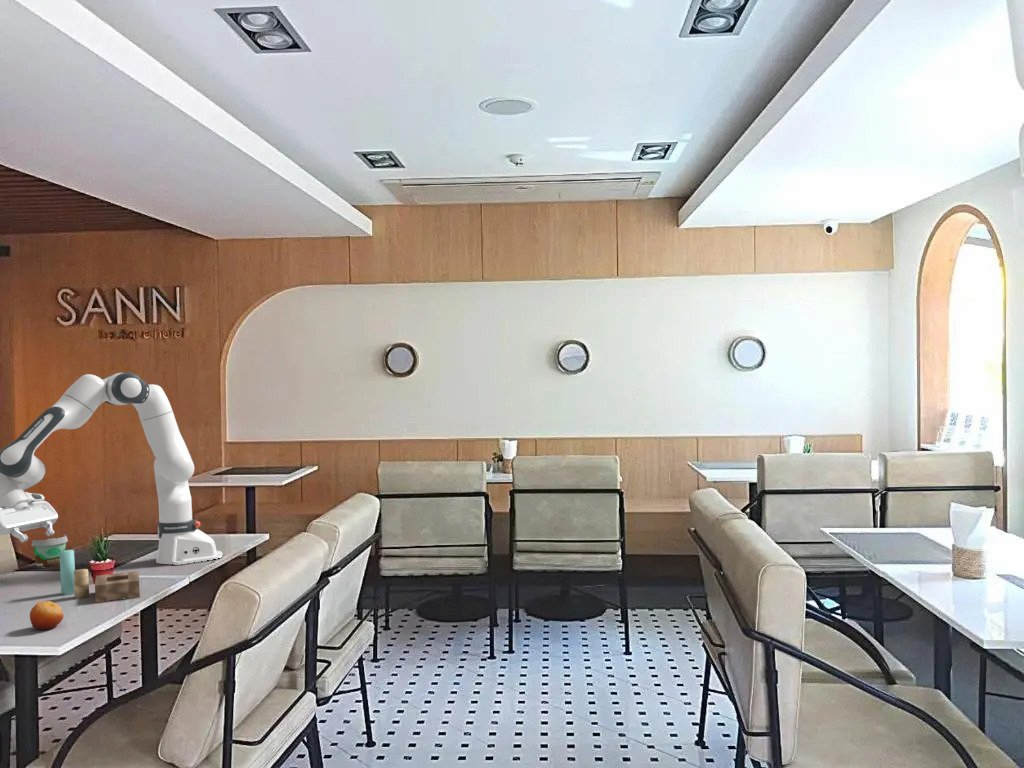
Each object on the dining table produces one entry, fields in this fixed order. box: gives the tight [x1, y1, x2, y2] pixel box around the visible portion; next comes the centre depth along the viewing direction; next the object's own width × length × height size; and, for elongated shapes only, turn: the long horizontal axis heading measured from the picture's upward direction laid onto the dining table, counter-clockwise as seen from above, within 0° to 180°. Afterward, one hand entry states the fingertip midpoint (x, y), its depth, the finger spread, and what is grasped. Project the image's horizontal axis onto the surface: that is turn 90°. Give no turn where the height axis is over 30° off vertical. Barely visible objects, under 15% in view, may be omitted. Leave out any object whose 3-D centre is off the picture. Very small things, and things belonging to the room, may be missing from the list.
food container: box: [31, 533, 69, 568], centre depth 311 cm, size 12×6×10 cm, turn 148°
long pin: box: [59, 549, 76, 596], centre depth 271 cm, size 4×4×13 cm
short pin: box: [74, 568, 90, 599], centre depth 266 cm, size 4×4×8 cm
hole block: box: [94, 570, 141, 604], centre depth 267 cm, size 12×14×5 cm
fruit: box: [29, 600, 64, 630], centre depth 234 cm, size 8×8×8 cm
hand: (38, 537), depth 275 cm, fingers open, 8 cm apart
